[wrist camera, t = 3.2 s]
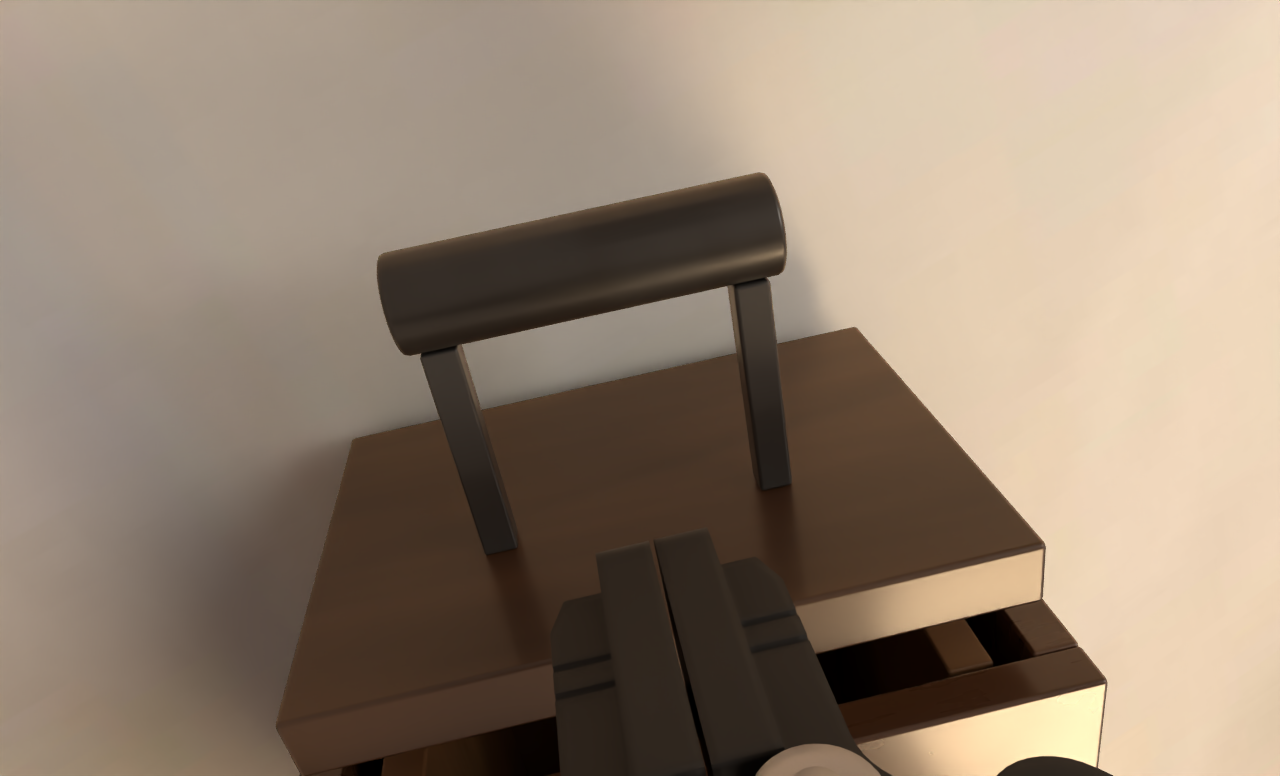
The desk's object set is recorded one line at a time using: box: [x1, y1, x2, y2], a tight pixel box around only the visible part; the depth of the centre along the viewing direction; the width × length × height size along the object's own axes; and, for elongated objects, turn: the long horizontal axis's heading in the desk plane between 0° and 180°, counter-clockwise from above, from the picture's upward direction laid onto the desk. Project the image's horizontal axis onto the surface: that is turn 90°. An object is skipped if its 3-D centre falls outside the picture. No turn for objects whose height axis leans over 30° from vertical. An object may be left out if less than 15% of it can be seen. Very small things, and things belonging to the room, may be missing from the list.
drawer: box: [276, 172, 1046, 776], centre depth 19 cm, size 21×12×8 cm, turn 10°
